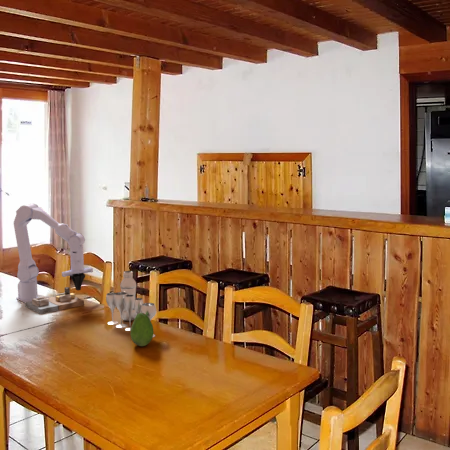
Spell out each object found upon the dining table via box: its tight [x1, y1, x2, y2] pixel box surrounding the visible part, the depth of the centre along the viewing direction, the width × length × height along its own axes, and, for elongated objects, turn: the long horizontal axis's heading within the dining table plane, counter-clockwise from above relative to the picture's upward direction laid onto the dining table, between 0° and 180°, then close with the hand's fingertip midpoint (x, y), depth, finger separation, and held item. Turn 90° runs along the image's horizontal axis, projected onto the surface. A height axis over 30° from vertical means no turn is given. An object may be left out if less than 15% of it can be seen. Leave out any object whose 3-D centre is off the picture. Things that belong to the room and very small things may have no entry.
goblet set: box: [105, 291, 157, 338], centre depth 210 cm, size 28×6×13 cm, turn 47°
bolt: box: [56, 286, 76, 301], centre depth 246 cm, size 8×2×5 cm, turn 133°
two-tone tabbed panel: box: [24, 292, 85, 315], centre depth 243 cm, size 20×15×4 cm
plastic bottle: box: [119, 270, 137, 322], centre depth 221 cm, size 6×7×20 cm
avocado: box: [130, 313, 154, 347], centre depth 193 cm, size 8×8×12 cm
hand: (78, 289), depth 251 cm, fingers closed
